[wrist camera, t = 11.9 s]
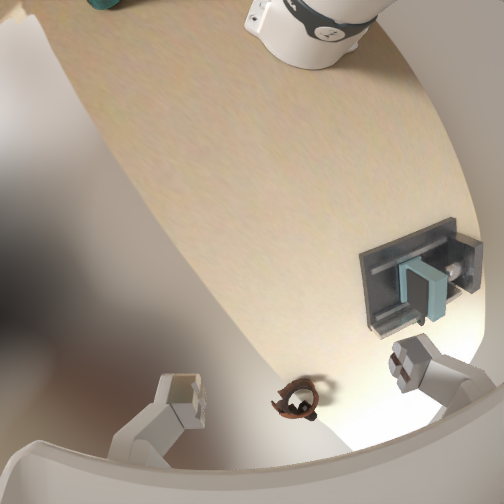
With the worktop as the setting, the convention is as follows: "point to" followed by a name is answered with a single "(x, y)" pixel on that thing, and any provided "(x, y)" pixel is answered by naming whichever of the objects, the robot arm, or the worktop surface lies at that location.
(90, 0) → the beverage bottle
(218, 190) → the worktop surface
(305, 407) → the brown hollow ring part
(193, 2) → the worktop surface
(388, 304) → the frame
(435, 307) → the gauge slider
